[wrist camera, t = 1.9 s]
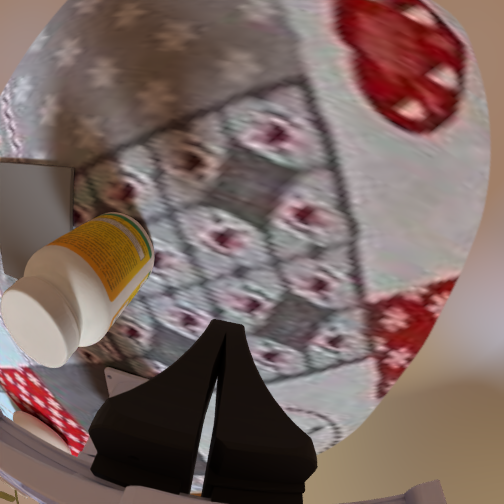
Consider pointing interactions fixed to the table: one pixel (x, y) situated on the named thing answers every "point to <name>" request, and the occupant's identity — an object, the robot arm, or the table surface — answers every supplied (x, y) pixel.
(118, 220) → the supplement bottle
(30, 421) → the flower in vase
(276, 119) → the table surface
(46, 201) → the mat
